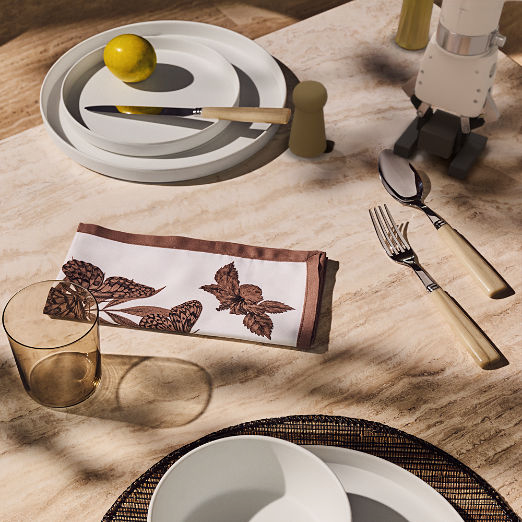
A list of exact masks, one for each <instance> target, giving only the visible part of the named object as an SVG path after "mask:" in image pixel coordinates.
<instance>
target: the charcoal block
mask: <svg viewBox="0 0 522 522" xmlns="http://www.w3.org/2000/svg"><path fill="white" fill-rule="evenodd" d="M460 127H461V117H460V115H458V114H454V113H451V112H449V111H446V110H444V109H443V110H442V109H441V108H436V109H435V110H434V112H433V115H432V116H431V117H430V118H429V120H428V121H427V122H426V123H425V125H424V126H423V127H422V128H421V130H420V135H419V140H418V145H417V147H416V148H417V149H420V150H423V151H425V152H428V153H431V154H433V155H435V156H438V157H441V158H443V159H446V160H448V159H449V158H450V156H451V155H452V153H454V152H453V147H454V143H455V139H456V134H457V131H458V130H459V129H460Z"/></svg>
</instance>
